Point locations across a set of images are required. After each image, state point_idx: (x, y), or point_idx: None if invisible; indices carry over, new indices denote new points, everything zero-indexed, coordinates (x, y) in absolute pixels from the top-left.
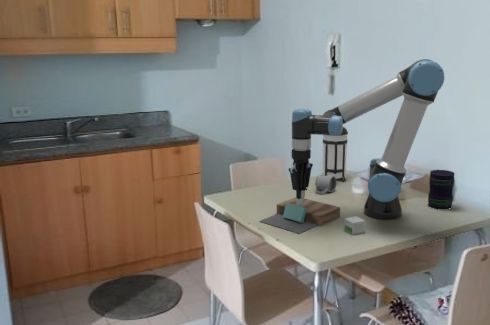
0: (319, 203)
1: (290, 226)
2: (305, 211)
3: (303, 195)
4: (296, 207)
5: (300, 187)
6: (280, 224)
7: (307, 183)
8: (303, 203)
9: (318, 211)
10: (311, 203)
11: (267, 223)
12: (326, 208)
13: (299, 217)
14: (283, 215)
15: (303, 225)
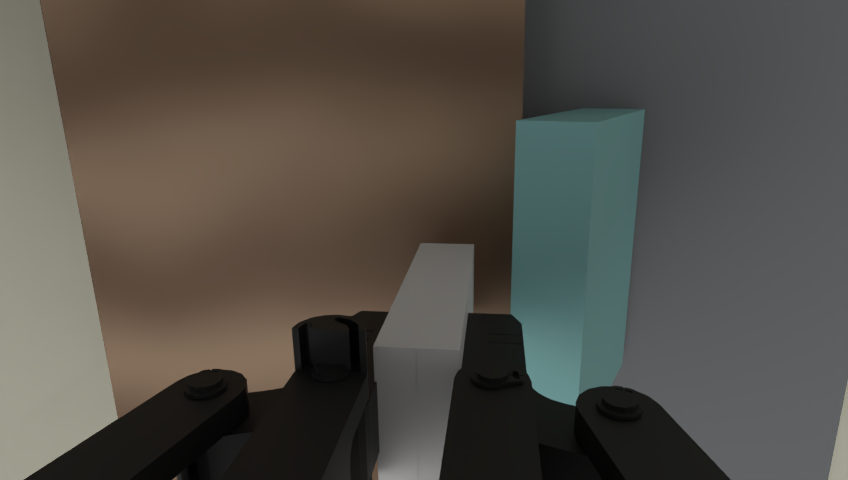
0: (118, 210)
1: (781, 145)
2: (553, 116)
3: (420, 303)
4: (594, 260)
5: (515, 421)
6: (789, 270)
7: (178, 429)
8: (433, 255)
9: (374, 13)
10: (193, 285)
11: (844, 390)
12: (197, 8)
13: (631, 145)
14: (619, 366)
15: (659, 47)
